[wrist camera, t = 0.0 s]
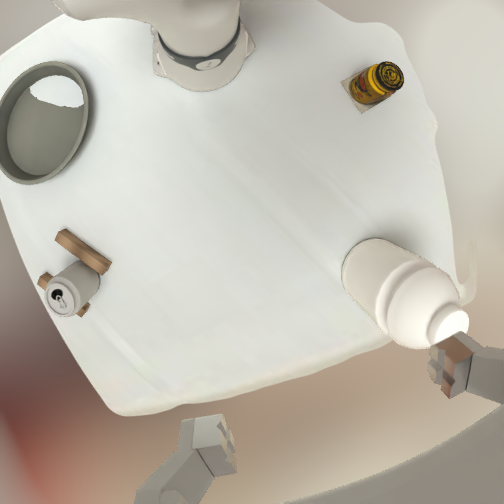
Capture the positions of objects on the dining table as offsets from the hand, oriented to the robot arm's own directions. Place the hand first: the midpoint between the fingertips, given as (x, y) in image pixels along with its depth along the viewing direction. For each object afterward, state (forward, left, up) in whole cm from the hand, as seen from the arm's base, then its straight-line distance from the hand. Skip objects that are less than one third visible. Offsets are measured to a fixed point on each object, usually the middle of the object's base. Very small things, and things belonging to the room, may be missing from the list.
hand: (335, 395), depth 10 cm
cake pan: (-30, -34, -48) cm, 66 cm away
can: (+3, -34, -48) cm, 59 cm away
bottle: (+17, +22, -48) cm, 56 cm away
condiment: (-19, +29, -48) cm, 59 cm away
